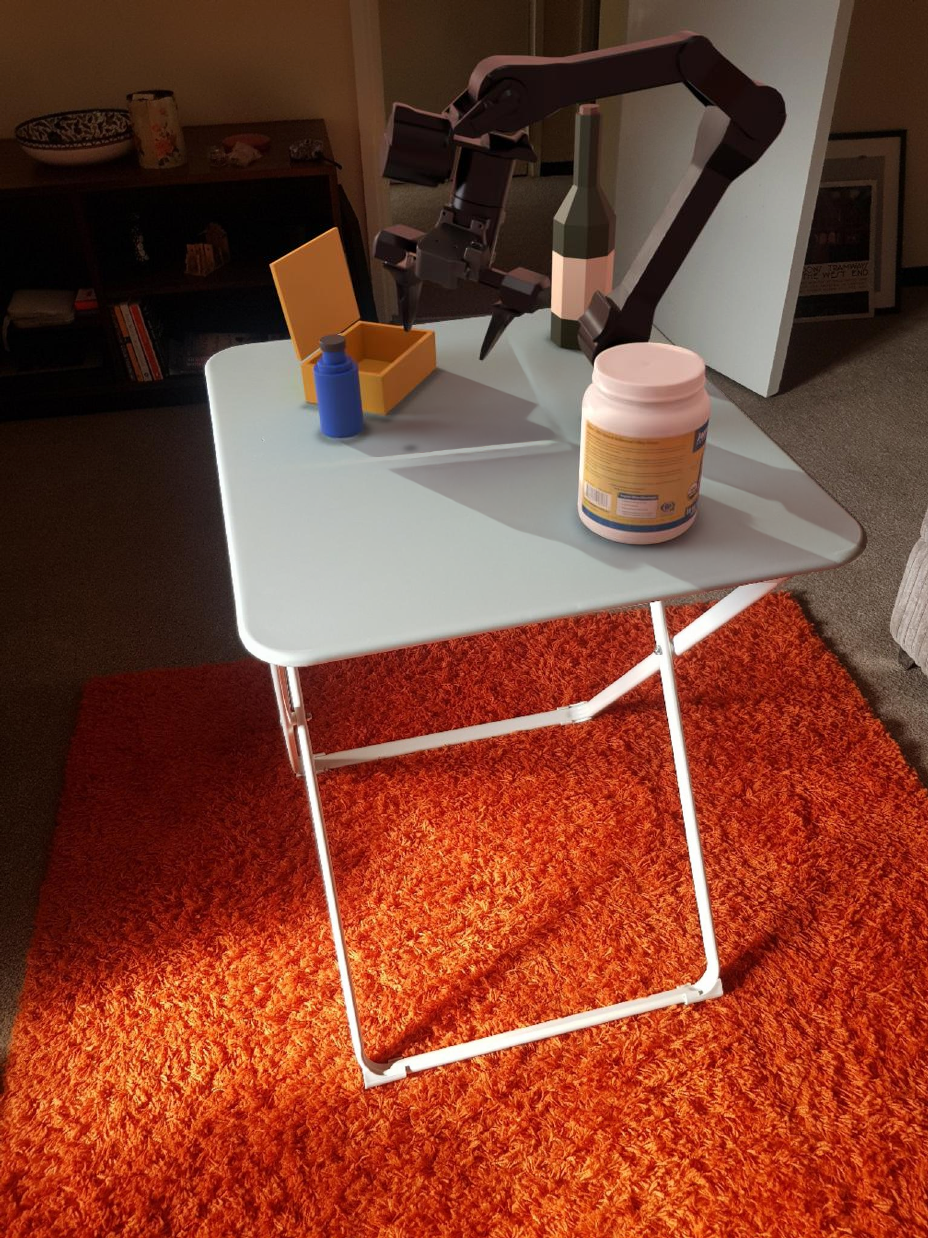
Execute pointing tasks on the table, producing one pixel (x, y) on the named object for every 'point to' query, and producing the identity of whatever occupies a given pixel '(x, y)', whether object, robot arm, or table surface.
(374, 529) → the table surface
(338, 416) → the bottle
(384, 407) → the box
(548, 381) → the table surface
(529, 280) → the robot arm
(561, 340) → the wine bottle
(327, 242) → the lunchbox lid
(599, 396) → the supplement tub
